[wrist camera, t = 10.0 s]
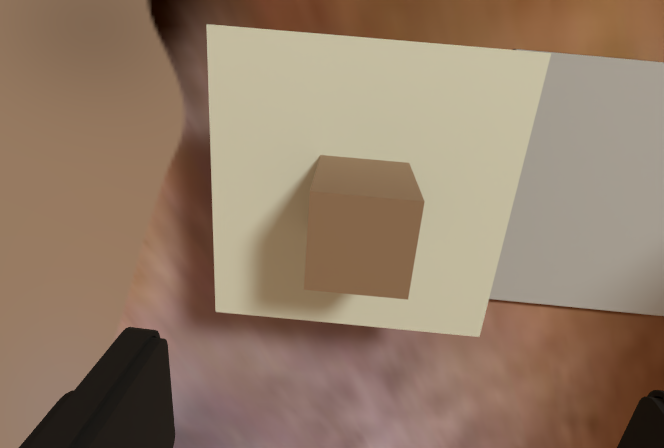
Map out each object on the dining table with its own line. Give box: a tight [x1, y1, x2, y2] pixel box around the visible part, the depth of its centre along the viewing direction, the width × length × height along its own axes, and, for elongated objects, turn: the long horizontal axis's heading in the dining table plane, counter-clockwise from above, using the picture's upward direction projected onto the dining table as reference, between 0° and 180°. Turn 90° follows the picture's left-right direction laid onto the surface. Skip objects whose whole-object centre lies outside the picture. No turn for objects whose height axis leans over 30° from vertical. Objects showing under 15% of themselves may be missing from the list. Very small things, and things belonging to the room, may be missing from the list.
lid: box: [207, 24, 551, 337], centre depth 19 cm, size 14×14×6 cm
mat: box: [489, 49, 664, 316], centre depth 28 cm, size 16×16×1 cm
